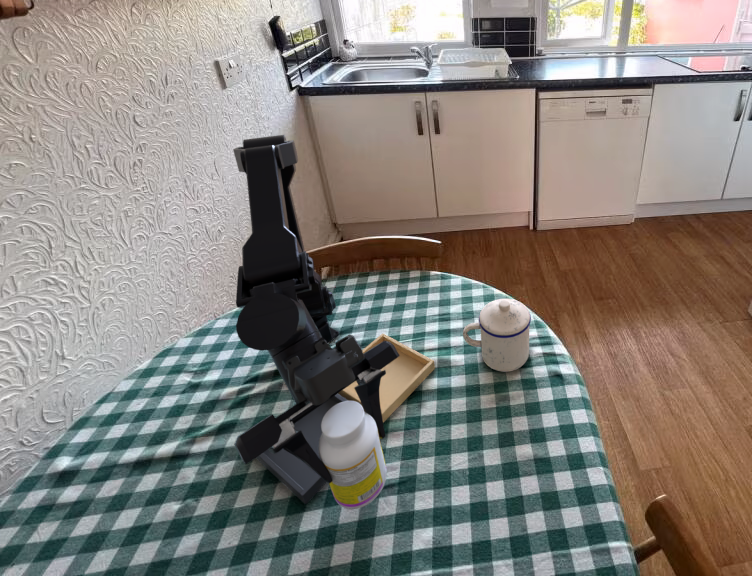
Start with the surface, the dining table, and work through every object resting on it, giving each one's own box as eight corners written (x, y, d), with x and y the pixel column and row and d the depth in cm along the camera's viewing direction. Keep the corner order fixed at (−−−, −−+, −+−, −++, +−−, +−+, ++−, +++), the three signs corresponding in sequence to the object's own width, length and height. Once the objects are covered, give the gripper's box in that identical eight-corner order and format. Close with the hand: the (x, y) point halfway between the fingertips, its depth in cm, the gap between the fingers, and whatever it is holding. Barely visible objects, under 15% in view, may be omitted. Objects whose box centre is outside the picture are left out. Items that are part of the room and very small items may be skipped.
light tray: (329, 387, 69) (326, 379, 68) (384, 340, 79) (382, 333, 78) (382, 424, 63) (380, 415, 62) (435, 368, 73) (434, 360, 72)
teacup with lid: (528, 334, 80) (528, 285, 75) (532, 372, 72) (533, 321, 67) (465, 336, 79) (462, 288, 74) (463, 376, 71) (459, 324, 66)
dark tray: (251, 453, 59) (247, 445, 58) (324, 391, 69) (322, 382, 68) (305, 504, 53) (302, 496, 52) (378, 428, 63) (376, 419, 62)
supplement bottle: (345, 456, 56) (327, 391, 51) (393, 457, 56) (380, 392, 51) (324, 511, 50) (300, 445, 45) (377, 513, 50) (360, 447, 45)
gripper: (209, 387, 39) (286, 541, 37) (381, 291, 52) (445, 402, 50) (209, 396, 47) (273, 522, 45) (358, 310, 60) (412, 407, 58)
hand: (357, 459), depth 50 cm, fingers closed on supplement bottle, 6 cm apart
